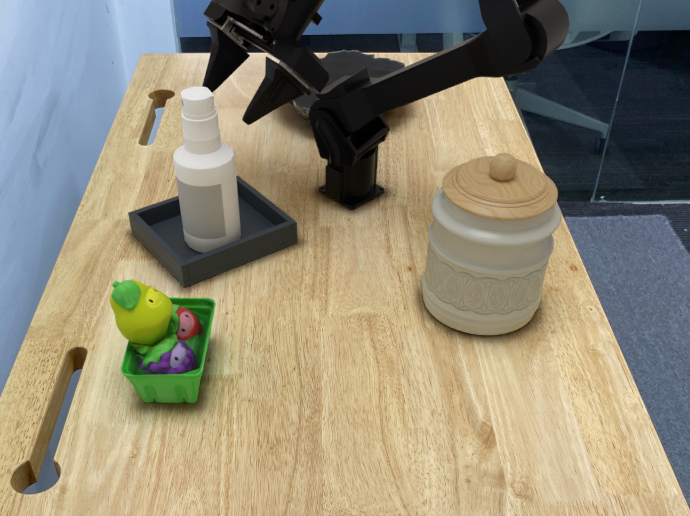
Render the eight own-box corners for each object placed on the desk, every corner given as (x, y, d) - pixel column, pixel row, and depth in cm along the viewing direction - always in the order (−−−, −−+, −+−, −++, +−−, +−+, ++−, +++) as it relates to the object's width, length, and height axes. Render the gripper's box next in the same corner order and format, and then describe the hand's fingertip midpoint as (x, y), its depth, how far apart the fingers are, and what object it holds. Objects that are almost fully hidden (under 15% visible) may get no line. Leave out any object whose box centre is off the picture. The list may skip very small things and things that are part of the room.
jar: (418, 264, 91) (434, 122, 79) (529, 268, 90) (562, 125, 78) (422, 336, 82) (441, 187, 69) (546, 341, 81) (587, 191, 69)
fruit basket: (207, 413, 73) (194, 322, 66) (115, 412, 74) (91, 320, 66) (221, 335, 82) (210, 246, 74) (137, 334, 82) (118, 244, 74)
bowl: (417, 142, 112) (420, 109, 109) (267, 141, 112) (265, 107, 109) (406, 80, 128) (409, 49, 125) (275, 79, 128) (274, 47, 125)
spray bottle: (180, 228, 95) (159, 83, 82) (234, 219, 96) (221, 76, 84) (190, 259, 90) (169, 110, 78) (247, 249, 92) (236, 102, 79)
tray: (239, 195, 102) (238, 175, 100) (297, 243, 94) (297, 221, 92) (131, 233, 95) (127, 212, 93) (184, 287, 88) (181, 266, 85)
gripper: (210, -81, 86) (136, 42, 89) (307, -37, 75) (218, 101, 78) (272, -17, 95) (202, 93, 98) (366, 30, 84) (284, 152, 87)
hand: (224, 107), depth 90 cm, fingers open, 9 cm apart
